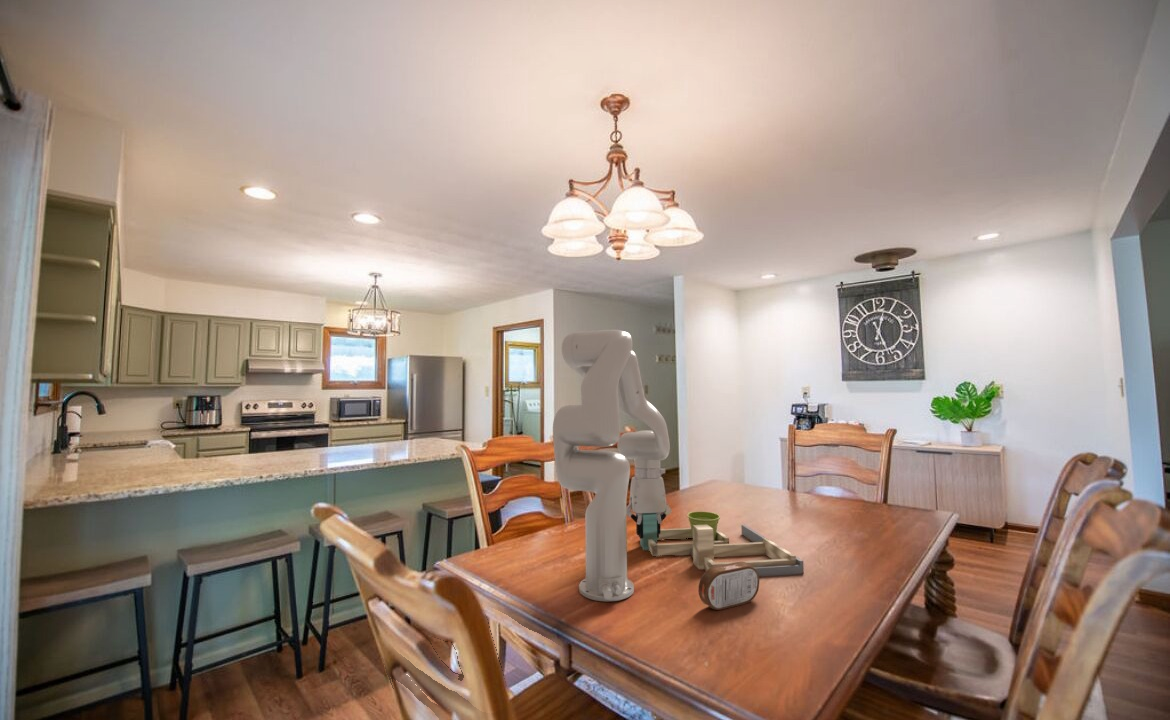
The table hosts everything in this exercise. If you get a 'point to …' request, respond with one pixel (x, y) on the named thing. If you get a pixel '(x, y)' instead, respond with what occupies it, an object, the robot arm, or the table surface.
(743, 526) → the rack
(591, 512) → the robot arm
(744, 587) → the tin
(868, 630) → the table surface
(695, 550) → the frame
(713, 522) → the plant pot
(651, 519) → the pot
